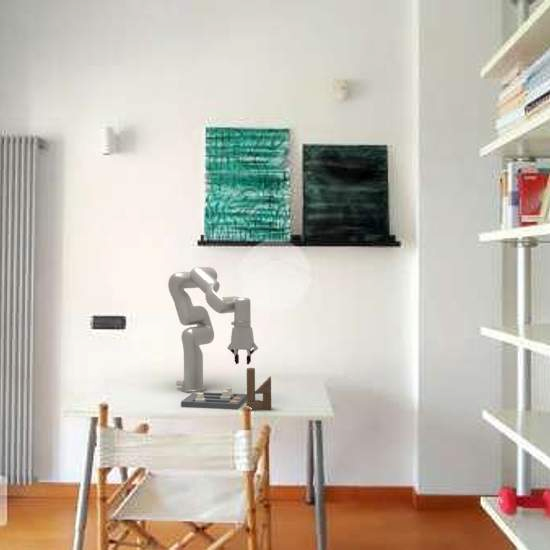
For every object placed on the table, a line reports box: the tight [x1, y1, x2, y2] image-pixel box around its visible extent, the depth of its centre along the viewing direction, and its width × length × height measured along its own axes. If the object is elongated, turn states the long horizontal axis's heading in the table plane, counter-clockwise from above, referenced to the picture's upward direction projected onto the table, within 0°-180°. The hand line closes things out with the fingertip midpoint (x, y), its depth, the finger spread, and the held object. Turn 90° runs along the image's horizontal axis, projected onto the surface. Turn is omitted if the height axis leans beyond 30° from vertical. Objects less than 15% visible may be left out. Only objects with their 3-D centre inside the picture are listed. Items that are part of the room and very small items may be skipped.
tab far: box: [225, 387, 235, 396], centre depth 260 cm, size 4×3×4 cm
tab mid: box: [220, 389, 231, 399], centre depth 254 cm, size 4×3×4 cm
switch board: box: [180, 391, 247, 410], centre depth 255 cm, size 26×18×3 cm
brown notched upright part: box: [245, 367, 272, 411], centre depth 244 cm, size 4×11×18 cm, turn 94°
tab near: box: [195, 393, 206, 402], centre depth 250 cm, size 4×3×4 cm
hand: (242, 363), depth 259 cm, fingers open, 4 cm apart
